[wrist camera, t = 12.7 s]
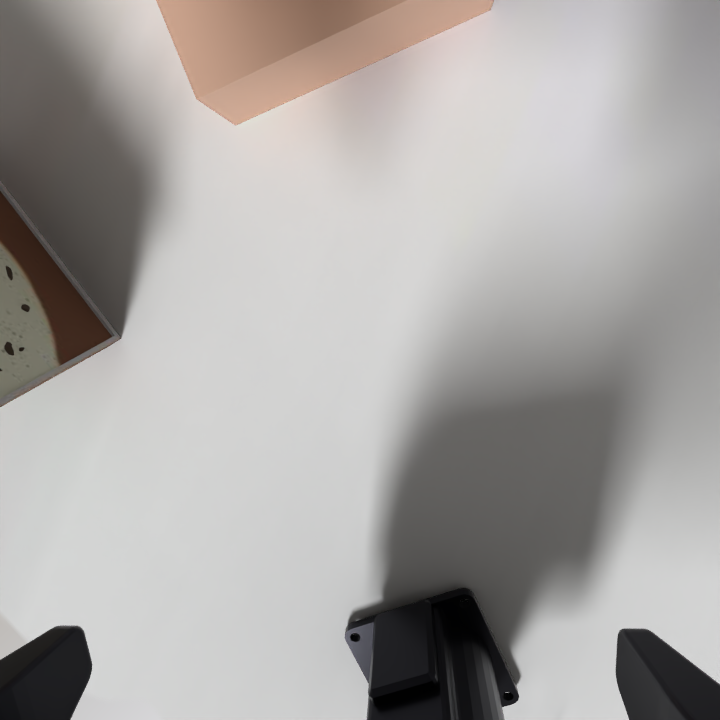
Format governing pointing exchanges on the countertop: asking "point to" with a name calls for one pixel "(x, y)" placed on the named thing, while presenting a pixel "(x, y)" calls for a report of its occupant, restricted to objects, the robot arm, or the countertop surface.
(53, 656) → the robot arm
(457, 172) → the countertop surface
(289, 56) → the terracotta block
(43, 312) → the food container
